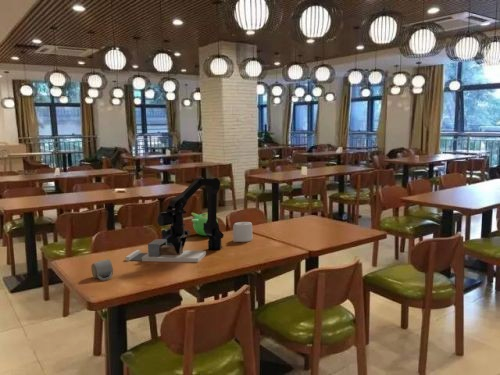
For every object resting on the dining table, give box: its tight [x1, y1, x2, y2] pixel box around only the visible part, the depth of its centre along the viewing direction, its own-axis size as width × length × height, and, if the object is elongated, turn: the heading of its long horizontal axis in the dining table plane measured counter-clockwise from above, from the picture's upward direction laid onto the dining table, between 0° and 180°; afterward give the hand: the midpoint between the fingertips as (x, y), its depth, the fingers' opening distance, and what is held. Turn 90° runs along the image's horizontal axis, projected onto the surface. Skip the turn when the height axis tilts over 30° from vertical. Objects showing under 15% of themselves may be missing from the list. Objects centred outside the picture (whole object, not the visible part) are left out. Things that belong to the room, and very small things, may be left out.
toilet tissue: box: [232, 221, 254, 243], centre depth 263 cm, size 11×12×10 cm
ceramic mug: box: [90, 258, 114, 282], centre depth 202 cm, size 11×8×8 cm
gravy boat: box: [191, 212, 219, 237], centre depth 279 cm, size 18×17×15 cm
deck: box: [125, 249, 207, 263], centre depth 232 cm, size 39×14×2 cm, turn 80°
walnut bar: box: [160, 245, 184, 255], centre depth 231 cm, size 14×4×4 cm, turn 79°
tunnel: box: [147, 238, 167, 257], centre depth 232 cm, size 6×11×6 cm, turn 170°
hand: (179, 252), depth 230 cm, fingers closed on walnut bar, 4 cm apart
